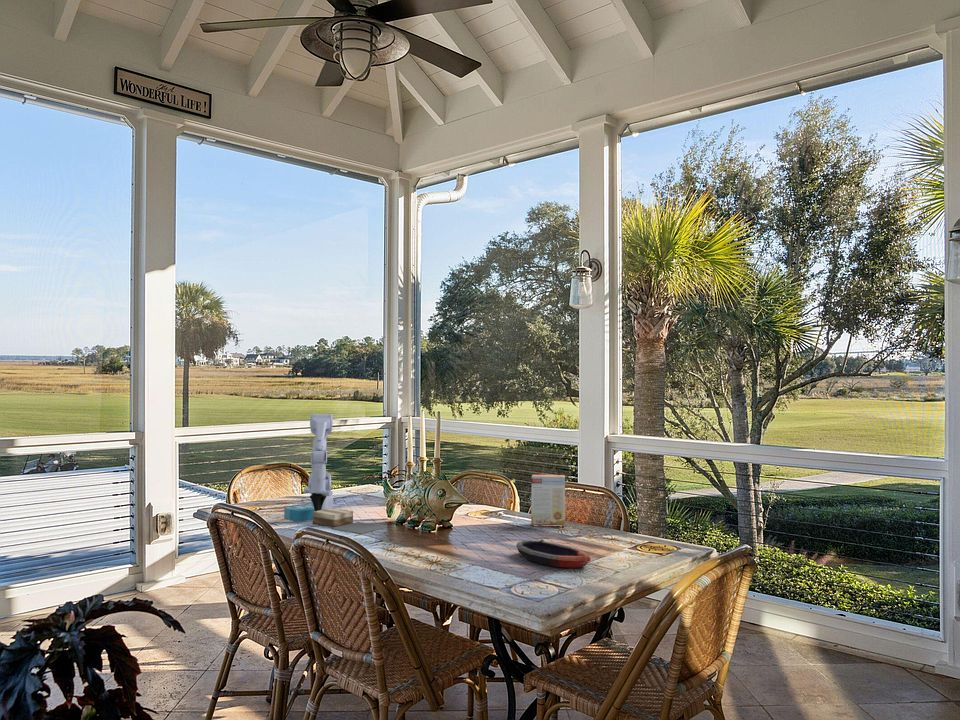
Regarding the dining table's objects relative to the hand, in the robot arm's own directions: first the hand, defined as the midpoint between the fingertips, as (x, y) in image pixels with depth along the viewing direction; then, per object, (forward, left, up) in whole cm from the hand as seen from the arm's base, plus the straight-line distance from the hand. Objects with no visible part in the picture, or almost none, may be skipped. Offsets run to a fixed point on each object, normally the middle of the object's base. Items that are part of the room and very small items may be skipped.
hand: (317, 512), depth 308 cm
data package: (+6, -11, -2) cm, 12 cm away
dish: (+2, +110, -4) cm, 110 cm away
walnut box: (0, +9, -4) cm, 9 cm away
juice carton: (-27, +34, -4) cm, 44 cm away
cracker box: (-50, +82, -4) cm, 96 cm away
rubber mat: (0, +23, -4) cm, 23 cm away
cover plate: (0, +9, -1) cm, 9 cm away
